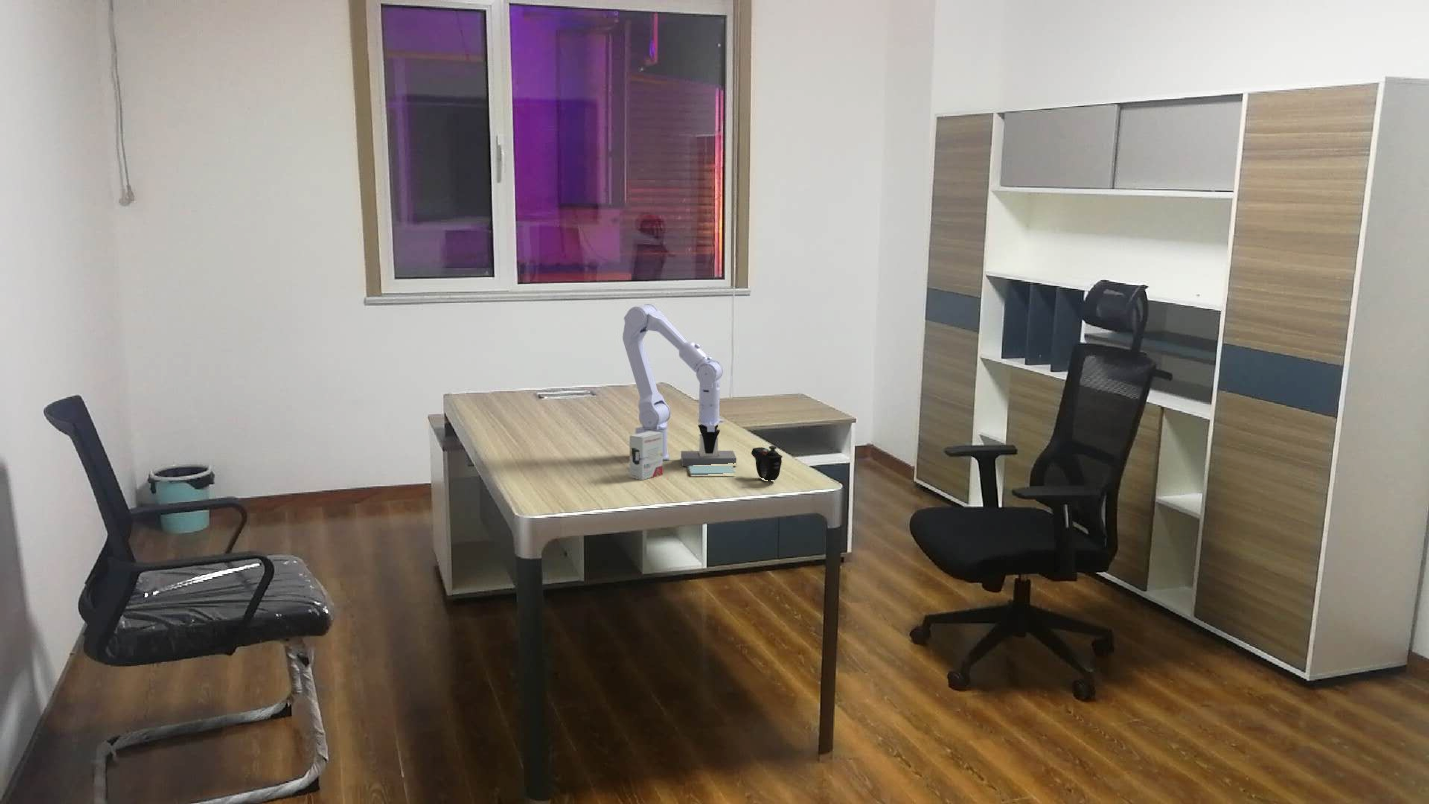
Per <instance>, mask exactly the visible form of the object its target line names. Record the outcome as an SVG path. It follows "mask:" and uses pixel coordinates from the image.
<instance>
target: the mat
mask: <svg viewBox="0 0 1429 804" xmlns="http://www.w3.org/2000/svg"><path fill="white" fill-rule="evenodd" d="M689 470H690V472H689V474H691V475H708V474H723V473H735V474H736V472H735V470H734V467H732V466H689V467H688V471H689Z"/></svg>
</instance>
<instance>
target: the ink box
mask: <svg viewBox="0 0 1429 804" xmlns="http://www.w3.org/2000/svg"><path fill="white" fill-rule="evenodd" d="M663 461H664V460H663V433H661V432H653V431H647V432H643V433H639V434H636V433H634V434H631V435H629V478H631V479H634V478H636V479H635V480H638V479H639V481H644V479H645V480H648V479H651V477H652V478H654V476H655V477H658V476H657V475H659V476H662V475H663V472H664V471H663V467H664V466H663V464H664V462H663ZM647 478H648V479H647Z"/></svg>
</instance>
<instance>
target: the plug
mask: <svg viewBox="0 0 1429 804" xmlns="http://www.w3.org/2000/svg"><path fill="white" fill-rule="evenodd" d="M698 435H699V436H698V437H699V439H698V441H699V446H698V451H699V457H716V456H718V451H719V435H718V436H717V439H716V442H715V447H714V451H713V454H706V453H705V449H704V441H703V437H702V434H701V433H700V434H698Z"/></svg>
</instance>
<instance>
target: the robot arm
mask: <svg viewBox="0 0 1429 804" xmlns="http://www.w3.org/2000/svg"><path fill="white" fill-rule="evenodd" d="M623 320H624V327H623V333H622V341H623V345H624V347H625V352H626V355H627V357H628V361H629V364H630V368H631V371H632V375H633V378H634V381H635V385H636V388H637V391H638V394H639V401H638V404H637V405H638V411H639V413H638V421H639V423H640V425H641V426H640V427H635V434H639V433H643V432H647V431H653V432H661V433H663V461H669V460H670V456H669V452H668V421H669V420H670V418H671V414H672V412H671V408H670V406H669V404H667V402H666V401H665V399H664V396H663V395H662V394H661V393H660V392H659V390H658V387H657V384H656V383H657V382H656V380H655V378H654V374H653V370H652V367H651V364H650V360H649V358H648V354H647V350H646V347H645V344H644V341H643V340H644V338H645V336H646V335H647V333H648V331H649V332H650V331H652V332H657V333H659V334H660V335H661V336H663V338H665V339H666V340H667V341H668V342H669V343H670V344H671V345H673V347H675V348H676V349H677V350H678V356H679V358H680V359H681V360H682V361H683V362H684V363H685V364H686V365H687V366H688V367H689V368H691V370H692V371H693V372H695V376H696V379H697V381H698V382H699V387H698V388H699V395H698V396H699V398H698V400H699V401H698V419H697V421H698V425H697V427H698V428H699V432H700V434H702V437H703V441H704V449H705V453H706V454H713V451H714V447H715V442H716V439H717V436H718V437H719V434H720V432H721V430H720V429H718V427H719V424H721V423H724V419H723V418H720V396H721V395H720V393H721V392H720V391H721V388H720V385H721V384H720V383H721V382H720V381H721V380H720V379H721V377H722V376H723V373H724V372H723V371H724V370H723V367H722V365H721V364H720V362H719V361H717V360H714V359H713V357H711V356H708V355H707V354H706V353H705V351H703V349H701V347H702V346H701V345H700V344H699V343H695V342H694V341H687V340H686V339H685V338H684V337H683V335H682V334H681V333H680V332H679V330H678V329H677V328H675V326H674V325H673V324H672V323H671V322H670V321H669V320H668V318H666V315H664V313H663V312H662V311H660V310H659V309H658V308H657V307H656V306H655V305H654V304H652V303H651V304H650V303H645V304H644V305H640V306H639V305H638V306H633V307H631V308H629V310H627V312H626V313H625V316H624V317H623Z"/></svg>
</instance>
